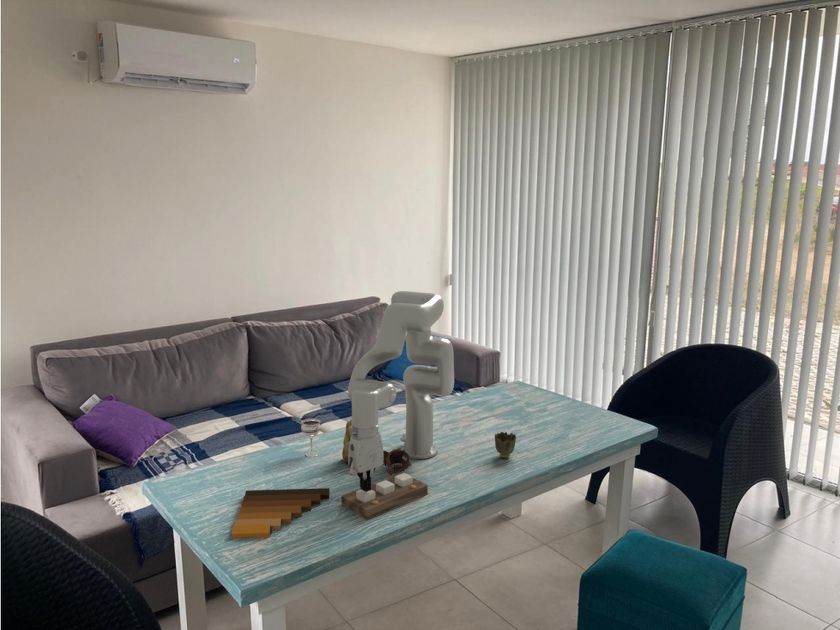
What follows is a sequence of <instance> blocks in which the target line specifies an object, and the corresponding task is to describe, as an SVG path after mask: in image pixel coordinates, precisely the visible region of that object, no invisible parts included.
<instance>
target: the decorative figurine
mask: <svg viewBox="0 0 840 630" xmlns="http://www.w3.org/2000/svg"><path fill="white" fill-rule="evenodd" d="M350 431H352V418H351V419H349V420H347V422H346V425H345V434H344V437H343V441H342V442H343V447H342V454H341V455H342V459H343V461H344V462H347V463H348V452H349V443H350V438H351V435H350Z"/></svg>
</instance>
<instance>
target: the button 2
mask: <svg viewBox="0 0 840 630" xmlns="http://www.w3.org/2000/svg"><path fill="white" fill-rule="evenodd" d="M402 473H403V474H400V475H397V476H395V484H397V485H399V486H401V487H406V486H408V485H411V484H413V478H414V477H413V476H412V475H410V474H408V473H405V472H402Z"/></svg>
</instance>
